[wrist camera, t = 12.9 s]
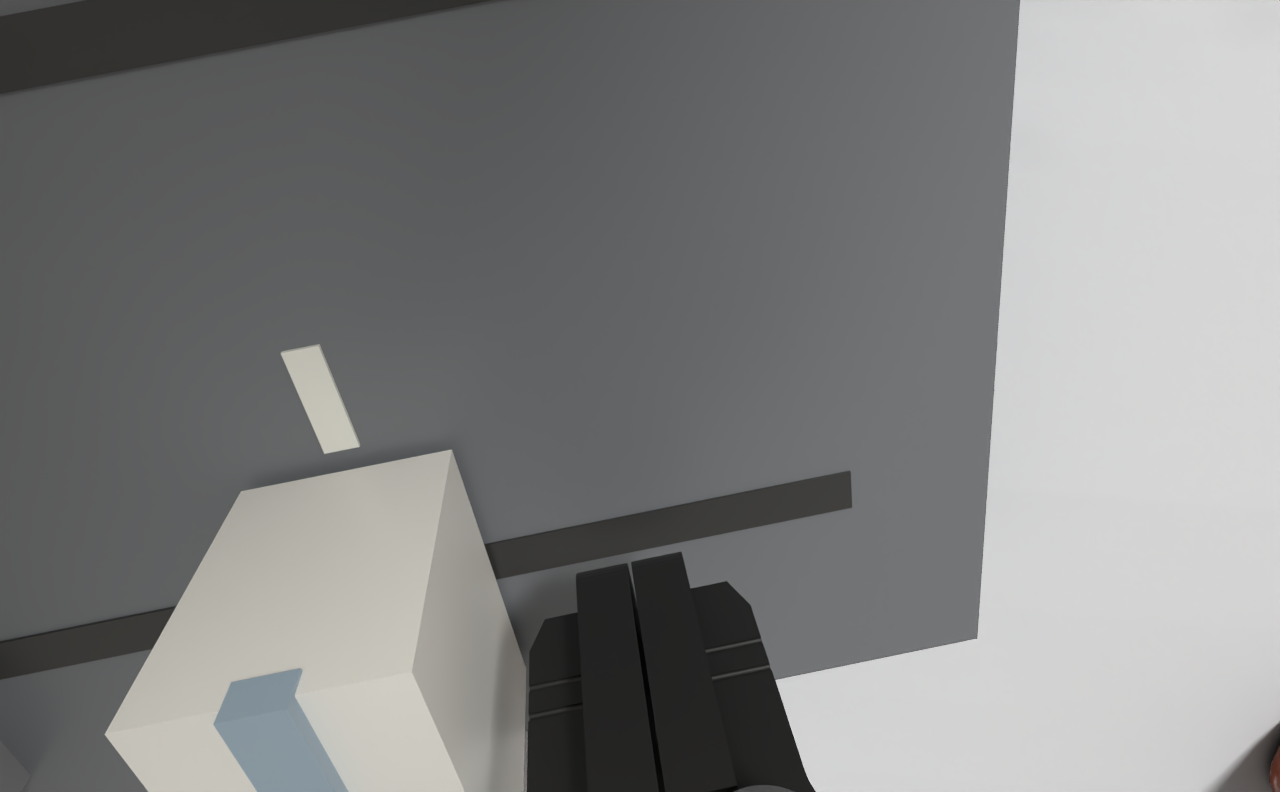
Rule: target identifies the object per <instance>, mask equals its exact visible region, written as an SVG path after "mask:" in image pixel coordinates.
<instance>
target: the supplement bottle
mask: <svg viewBox="0 0 1280 792" xmlns="http://www.w3.org/2000/svg"><path fill="white" fill-rule="evenodd" d="M1269 781H1270V784H1271V787H1272V790H1273V792H1280V745H1279V747H1278V749H1277V751H1276V753H1275V755H1274V759H1273V761H1272V763H1271V768H1270V776H1269Z"/></svg>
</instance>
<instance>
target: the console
mask: <svg viewBox="0 0 1280 792" xmlns="http://www.w3.org/2000/svg"><path fill="white" fill-rule="evenodd" d="M1019 7H1020V0H0V792H148V791H147V789H146V788H145V787H144V785H143V784H142V783H141V782H140V780H139V779H138V778H137V776H136V775H135V774H134V772H133V771H132V770H131V768H130V767H129V766H128V765H127V763H126V762H125V761H124V759H123V758H122V757H121V755H120V754H119V753H118V751H117V750H116V749H115V748H114V746H113V745H112V744H111V742H110V741H109V740H108V738H107V737H106V736H105V733H106V731H107V729H108V727H109V726H110V724H111V722H112V720H113V719H114V717H115V715H116V713H117V711H118V710H119V708H120V706H121V704H122V702H123V701H124V699H125V697H126V695H127V694H128V692H129V690H130V688H131V686H132V685H133V683H134V681H135V679H136V678H137V676H138V674H139V672H140V670H141V669H142V667H143V665H144V663H145V661H146V660H147V658H148V656H149V654H150V653H151V651H152V649H153V647H154V645H155V644H156V642H157V640H158V638H159V637H160V635H161V633H162V631H163V629H164V628H165V626H166V624H167V622H168V621H169V619H170V617H171V615H172V613H173V612H174V610H175V608H176V606H177V604H178V603H179V601H180V599H181V597H182V596H183V594H184V592H185V590H186V588H187V587H188V585H189V583H190V581H191V580H192V578H193V576H194V574H195V572H196V571H197V569H198V567H199V565H200V563H201V562H202V560H203V558H204V556H205V555H206V553H207V551H208V549H209V547H210V546H211V544H212V542H213V540H214V539H215V537H216V535H217V533H218V531H219V530H220V528H221V526H222V524H223V522H224V521H225V519H226V517H227V515H228V514H229V512H230V510H231V508H232V506H233V505H234V503H235V501H236V499H237V498H238V496H239V494H240V492H241V491H245V490H250V489H255V488H260V487H265V486H270V485H275V484H280V483H285V482H291V481H296V480H301V479H306V478H311V477H316V476H321V475H326V474H331V473H336V472H341V471H346V470H351V469H356V468H361V467H366V466H371V465H376V464H381V463H386V462H391V461H396V460H401V459H406V458H411V457H416V456H421V455H426V454H431V453H436V452H441V451H446V450H451V449H452V451H453V454H454V457H455V460H456V463H457V466H458V469H459V472H460V475H461V478H462V481H463V484H464V487H465V490H466V493H467V496H468V499H469V502H470V505H471V507H472V510H473V513H474V516H475V519H476V522H477V525H478V528H479V531H480V534H481V537H482V540H483V543H484V546H485V549H486V552H487V555H488V558H489V561H490V564H491V566H492V569H493V572H494V575H495V578H496V581H497V584H498V587H499V590H500V593H501V596H502V599H503V602H504V605H505V608H506V611H507V614H508V617H509V620H510V622H511V625H512V628H513V631H514V634H515V637H516V640H517V643H518V646H519V649H520V652H521V655H522V658H523V661H524V664H525V667H526V705H525V731H528V721H529V714H528V708H529V692H530V688H529V651H530V649H531V647H532V645H533V643H534V641H535V639H536V637H537V635H538V632H539V630H540V628H541V626H542V624H543V622H544V620H545V619H548V618H553V617H557V616H562V615H567V614H572V613H577V612H578V611H577V593H576V574H577V573H581V572H585V571H590V570H595V569H600V568H605V567H610V566H614V565H619V564H624V563H627V564H628V567H629V571H630V575H631V579H632V584H633V588H634V592H635V586H634V580H633V573H632V566H631V562H633V561H637V560H642V559H647V558H652V557H657V556H662V555H666V554H671V553H676V552H682V555H683V559H684V564H685V568H686V572H687V576H688V580H689V584H690V589H691V588H696V587H701V586H705V585H710V584H715V583H720V582H725V581H727V582H728V583H729V584H730V585H731V586H732V587H733V588H734V589H735V590H736V591H737V592H738V593H739V594H740V595H741V596H742V597H743V598H744V599H745V600H746V601H747V602H748V603H749V604H750V605H751V608H752V611H753V614H754V617H755V620H756V623H757V626H758V629H759V632H760V635H761V640H762V643H763V645H764V648H765V651H766V654H767V657H768V660H769V663H770V668H771V670H772V672H773V675H774V678H775V680H777V679H782V678H786V677H791V676H796V675H801V674H806V673H811V672H816V671H821V670H825V669H830V668H835V667H840V666H845V665H850V664H855V663H860V662H864V661H869V660H874V659H879V658H884V657H889V656H894V655H899V654H903V653H908V652H913V651H918V650H923V649H928V648H933V647H938V646H942V645H947V644H952V643H957V642H962V641H967V640H972V639H977V633H978V619H979V604H980V589H981V574H982V559H983V544H984V529H985V514H986V499H987V484H988V469H989V455H990V440H991V425H992V410H993V395H994V380H995V365H996V350H997V335H998V320H999V305H1000V291H1001V276H1002V261H1003V246H1004V231H1005V216H1006V201H1007V186H1008V171H1009V156H1010V141H1011V127H1012V112H1013V97H1014V82H1015V67H1016V52H1017V37H1018V22H1019ZM635 596H636V593H635ZM636 601H637V600H636Z"/></svg>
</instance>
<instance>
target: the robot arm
mask: <svg viewBox="0 0 1280 792" xmlns="http://www.w3.org/2000/svg"><path fill="white" fill-rule="evenodd" d="M631 566H632V573H633V580H634V586H635V592H634V588H633V584H632V579H631V575H630V571H629V567H628V564H627V563H624V564H619V565H614V566H610V567H605V568H600V569H595V570H590V571H585V572H581V573H577V574H576V593H577V611H578V612H577V613H572V614H567V615H562V616H557V617H553V618H548V619H545V620H544V622H543V624H542V626H541V628H540V630H539V632H538V635H537V637H536V639H535V641H534V643H533V645H532V647H531V649H530V651H529V688H530V692H529V708H528V714H529V721H528V770H527V792H815V790H814V788H813V787H812V785H811V784H810V782H809V780H808V778H807V775H806V773H805V770H804V768H803V764H802V761H801V758H800V755H799V752H798V749H797V746H796V743H795V740H794V737H793V734H792V731H791V728H790V725H789V721H788V718H787V715H786V712H785V709H784V706H783V703H782V700H781V697H780V694H779V691H778V688H777V685H776V682H775V678H774V675H773V672H772V670H771V668H770V663H769V660H768V657H767V654H766V651H765V648H764V645H763V643H762V640H761V635H760V632H759V629H758V626H757V623H756V620H755V617H754V614H753V611H752V608H751V605H750V604H749V603H748V602H747V601H746V600H745V599H744V598H743V597H742V596H741V595H740V594H739V593H738V592H737V591H736V590H735V589H734V588H733V587H732V586H731V585H730V584H729V583H728V582H727V581H725V582H720V583H715V584H710V585H705V586H701V587H696V588H691V589H690V584H689V580H688V576H687V572H686V568H685V564H684V559H683V555H682V552H676V553H671V554H666V555H662V556H657V557H652V558H647V559H642V560H637V561H633V562H631ZM635 593H636V596H635ZM636 600H637V601H636Z"/></svg>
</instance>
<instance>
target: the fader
mask: <svg viewBox="0 0 1280 792" xmlns="http://www.w3.org/2000/svg"><path fill="white" fill-rule="evenodd" d="M525 705H526V667H525V664H524V661H523V658H522V655H521V652H520V649H519V646H518V643H517V640H516V637H515V634H514V631H513V628H512V625H511V622H510V620H509V617H508V614H507V611H506V608H505V605H504V602H503V599H502V596H501V593H500V590H499V587H498V584H497V581H496V578H495V575H494V572H493V569H492V566H491V564H490V561H489V558H488V555H487V552H486V549H485V546H484V543H483V540H482V537H481V534H480V531H479V528H478V525H477V522H476V519H475V516H474V513H473V510H472V507H471V505H470V502H469V499H468V496H467V493H466V490H465V487H464V484H463V481H462V478H461V475H460V472H459V469H458V466H457V463H456V460H455V457H454V454H453V451H452V449H451V450H446V451H441V452H436V453H431V454H426V455H421V456H416V457H411V458H406V459H401V460H396V461H391V462H386V463H381V464H376V465H371V466H366V467H361V468H356V469H351V470H346V471H341V472H336V473H331V474H326V475H321V476H316V477H311V478H306V479H301V480H296V481H291V482H285V483H280V484H275V485H270V486H265V487H260V488H255V489H250V490H245V491H241V492H240V494H239V496H238V498H237V499H236V501H235V503H234V505H233V506H232V508H231V510H230V512H229V514H228V515H227V517H226V519H225V521H224V522H223V524H222V526H221V528H220V530H219V531H218V533H217V535H216V537H215V539H214V540H213V542H212V544H211V546H210V547H209V549H208V551H207V553H206V555H205V556H204V558H203V560H202V562H201V563H200V565H199V567H198V569H197V571H196V572H195V574H194V576H193V578H192V580H191V581H190V583H189V585H188V587H187V588H186V590H185V592H184V594H183V596H182V597H181V599H180V601H179V603H178V604H177V606H176V608H175V610H174V612H173V613H172V615H171V617H170V619H169V621H168V622H167V624H166V626H165V628H164V629H163V631H162V633H161V635H160V637H159V638H158V640H157V642H156V644H155V645H154V647H153V649H152V651H151V653H150V654H149V656H148V658H147V660H146V661H145V663H144V665H143V667H142V669H141V670H140V672H139V674H138V676H137V678H136V679H135V681H134V683H133V685H132V686H131V688H130V690H129V692H128V694H127V695H126V697H125V699H124V701H123V702H122V704H121V706H120V708H119V710H118V711H117V713H116V715H115V717H114V719H113V720H112V722H111V724H110V726H109V727H108V729H107V731H106V733H105V736H106V737H107V738H108V740H109V741H110V742H111V744H112V745H113V746H114V748H115V749H116V750H117V751H118V753H119V754H120V755H121V757H122V758H123V759H124V761H125V762H126V763H127V765H128V766H129V767H130V768H131V770H132V771H133V772H134V774H135V775H136V776H137V778H138V779H139V780H140V782H141V783H142V784H143V785H144V787H145V788H146V789H147V791H148V792H524V756H525Z"/></svg>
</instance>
